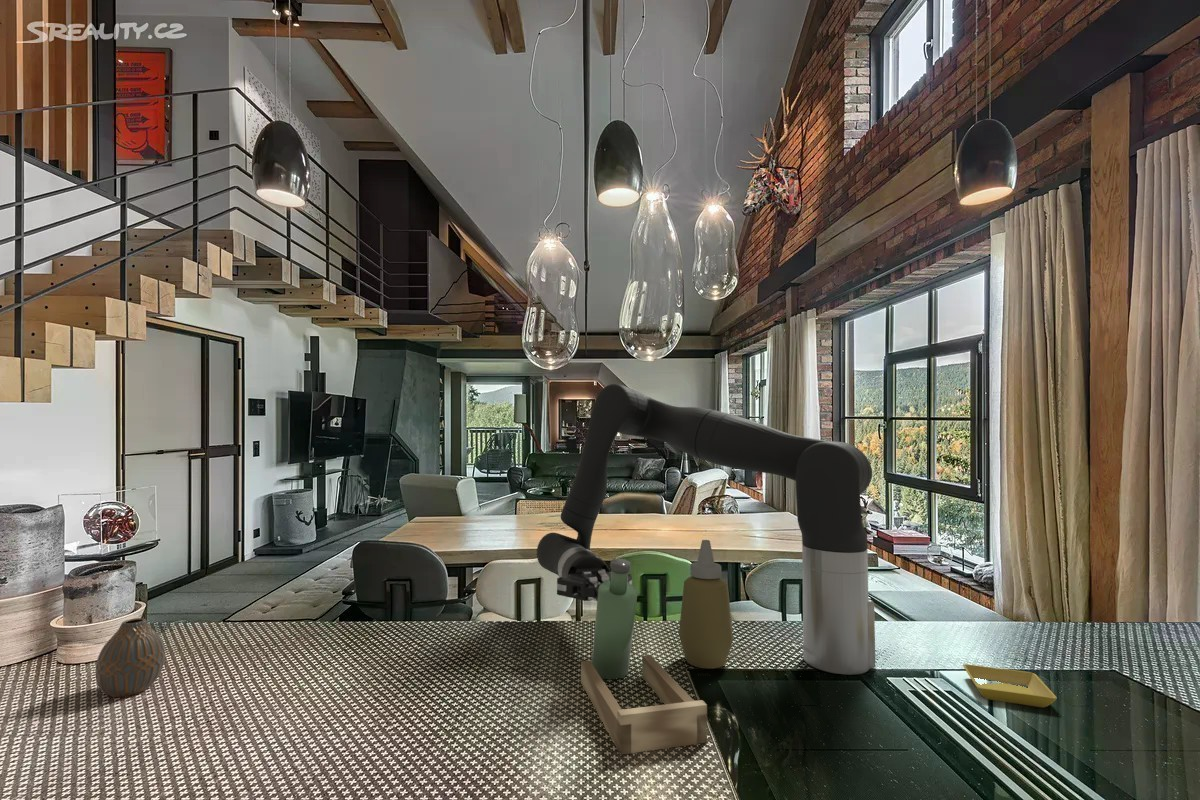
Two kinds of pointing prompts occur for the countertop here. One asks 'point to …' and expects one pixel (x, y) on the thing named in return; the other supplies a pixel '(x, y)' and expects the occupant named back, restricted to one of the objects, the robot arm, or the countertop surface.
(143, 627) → the vase
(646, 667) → the u rest
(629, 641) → the bottle
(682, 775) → the countertop surface
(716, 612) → the squeeze bottle
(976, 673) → the yellow shallow square tray
